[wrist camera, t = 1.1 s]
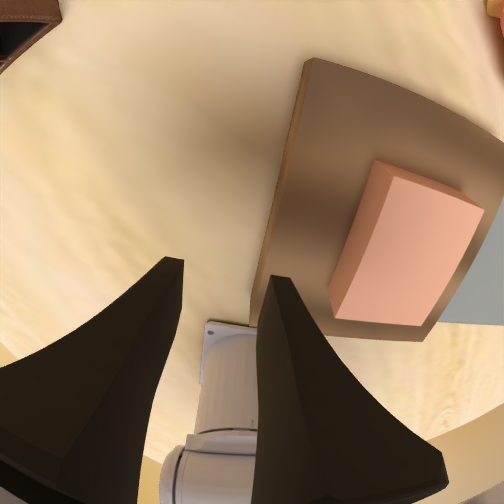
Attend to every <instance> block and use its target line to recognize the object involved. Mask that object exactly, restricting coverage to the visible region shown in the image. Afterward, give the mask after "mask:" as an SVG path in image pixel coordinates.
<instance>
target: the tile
mask: <svg viewBox="0 0 504 504" xmlns="http://www.w3.org/2000/svg"><path fill="white" fill-rule="evenodd" d="M483 213H484V209H483V208H482V207H480V206H479V205H478V204H477V203H475V202H474V201H473V200H471V199H470V198H469V197H468V196H466V195H465V194H464V193H462V192H461V191H459V190H457V189H454V188H452V187H449V186H447V185H444V184H442V183H439V182H437V181H434V180H431V179H429V178H426V177H423V176H421V175H418V174H415V173H412V172H410V171H407V170H404V169H401V168H398V167H395V166H392V165H389V164H386V163H383V162H380V161H376V160H374V162H373V165H372V168H371V171H370V175H369V178H368V181H367V184H366V187H365V190H364V193H363V196H362V199H361V202H360V204H359V207H358V210H357V213H356V216H355V219H354V221H353V224H352V227H351V230H350V232H349V235H348V238H347V240H346V243H345V246H344V248H343V251H342V253H341V256H340V259H339V261H338V264H337V266H336V269H335V271H334V274H333V276H332V279H331V281H330V283H329V286H328V288H327V289H328V293H329V297H330V301H331V305H332V309H333V313H334V317H335V318H338V319H347V320H357V321H366V322H377V323H388V324H400V325H412V326H421V325H422V324H423V322H424V321H425V319H426V318H427V316H428V315H429V313H430V312H431V310H432V309H433V307H434V305H435V304H436V302H437V301H438V299H439V297H440V296H441V294H442V292H443V291H444V289H445V287H446V286H447V284H448V282H449V281H450V279H451V277H452V275H453V274H454V272H455V270H456V268H457V266H458V264H459V263H460V261H461V259H462V257H463V255H464V253H465V251H466V249H467V247H468V245H469V243H470V241H471V239H472V237H473V235H474V233H475V231H476V228H477V226H478V224H479V222H480V220H481V217H482V215H483Z"/></svg>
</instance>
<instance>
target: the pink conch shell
mask: <svg viewBox="0 0 504 504" xmlns="http://www.w3.org/2000/svg"><path fill="white" fill-rule="evenodd" d="M487 14H488V16H492V17H497V18H501V19H500V23H501V30H502V34H503V37H504V0H488V2H487Z"/></svg>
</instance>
